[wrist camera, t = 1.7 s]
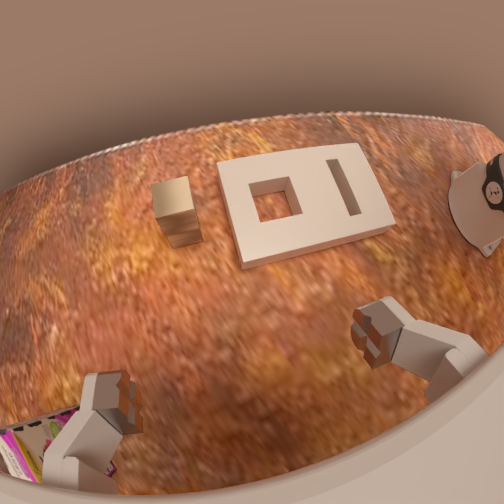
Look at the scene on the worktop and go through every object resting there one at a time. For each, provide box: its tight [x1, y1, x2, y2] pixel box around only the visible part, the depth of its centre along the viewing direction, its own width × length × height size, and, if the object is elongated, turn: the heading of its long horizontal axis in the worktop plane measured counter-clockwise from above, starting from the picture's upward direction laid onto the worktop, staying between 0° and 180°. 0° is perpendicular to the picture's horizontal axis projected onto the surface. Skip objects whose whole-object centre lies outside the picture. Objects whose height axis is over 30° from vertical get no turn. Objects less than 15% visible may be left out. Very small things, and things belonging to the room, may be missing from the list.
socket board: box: [217, 143, 396, 270], centre depth 37 cm, size 22×14×4 cm, turn 106°
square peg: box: [151, 176, 203, 249], centre depth 32 cm, size 4×4×10 cm
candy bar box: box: [0, 406, 116, 484], centre depth 19 cm, size 11×5×16 cm, turn 23°
